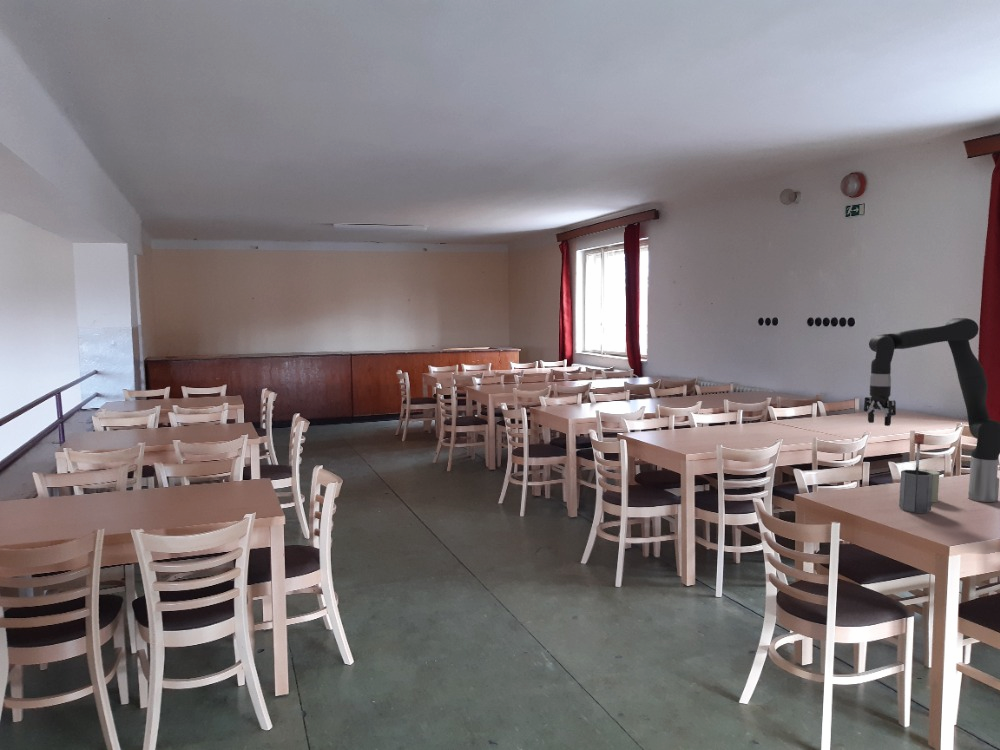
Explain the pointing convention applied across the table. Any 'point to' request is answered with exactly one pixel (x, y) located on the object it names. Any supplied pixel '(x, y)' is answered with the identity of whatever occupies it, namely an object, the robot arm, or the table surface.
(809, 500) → the table surface
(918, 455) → the plunger
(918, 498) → the grey faceted pot
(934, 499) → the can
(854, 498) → the table surface
